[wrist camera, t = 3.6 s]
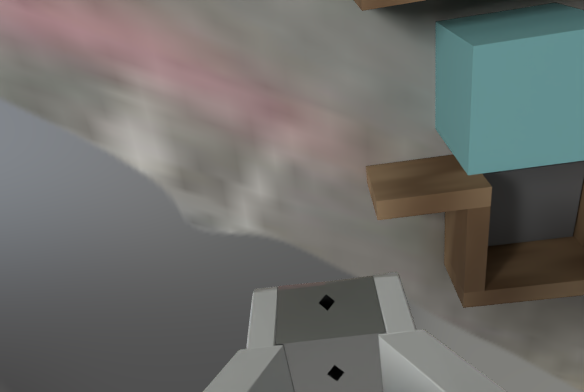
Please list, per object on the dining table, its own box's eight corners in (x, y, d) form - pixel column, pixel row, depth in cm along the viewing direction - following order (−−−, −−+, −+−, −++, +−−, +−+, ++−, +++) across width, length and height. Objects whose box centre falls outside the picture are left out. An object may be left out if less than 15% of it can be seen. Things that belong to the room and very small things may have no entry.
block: (554, 2, 19) (628, 22, 15) (541, 113, 22) (601, 158, 17) (435, 21, 20) (473, 46, 15) (435, 128, 22) (467, 175, 18)
